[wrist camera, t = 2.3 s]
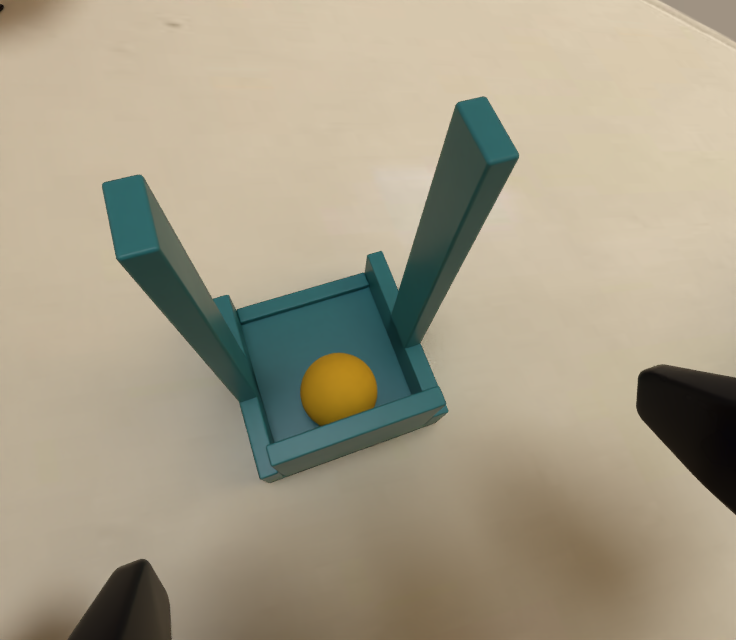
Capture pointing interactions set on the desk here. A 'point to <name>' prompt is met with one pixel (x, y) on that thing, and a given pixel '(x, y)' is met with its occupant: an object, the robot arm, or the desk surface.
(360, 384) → the toy ball
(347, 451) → the tray with tall posts
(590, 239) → the desk surface
